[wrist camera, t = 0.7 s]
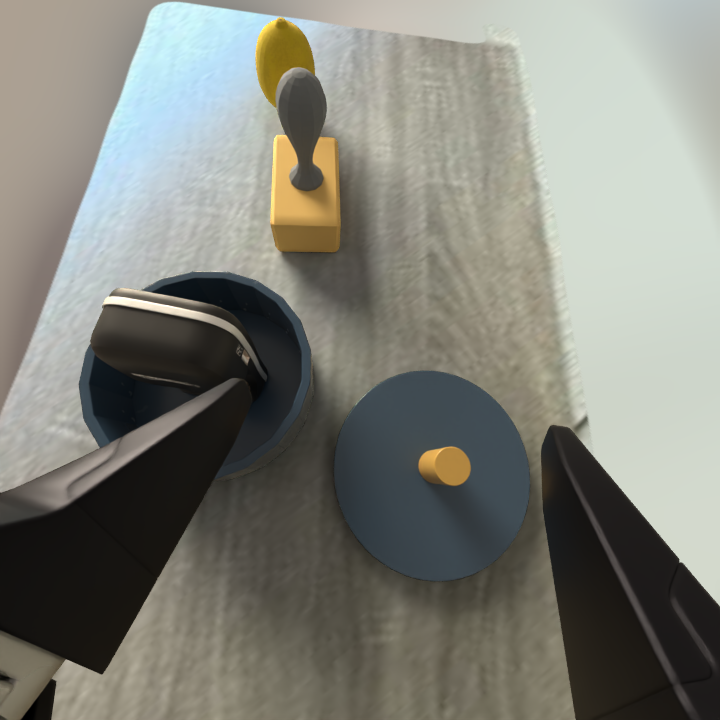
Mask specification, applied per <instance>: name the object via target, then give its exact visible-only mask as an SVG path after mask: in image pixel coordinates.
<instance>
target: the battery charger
mask: <svg viewBox="0 0 720 720" xmlns="http://www.w3.org/2000/svg"><path fill="white" fill-rule="evenodd" d="M102 308H103V311H102V313H101V315H100V317H99V319H98V322H97V324H96V326H95V328H94V330H93V333H92V337H91V340H90V342H91V348H92V350H93V351H94V353H95V355H96V356H97V357H98V358H99V359H101V360H102V361H104V362H105V363H107V364H108V365H110V366H111V367H113V368H115V369H116V370H118V371H120V372H122V373H123V374H125V375H127V376H129V377H131V378H133V379H135V380H137V381H141V382H144V383H149V384H155V385H160V386H166V387H174V388H179V389H180V390H181V391H183V392H185V393H188V394H193V395H198V396H199V395H201V394H203V393H205V392H207V391H209V390H211V389H212V388H214V387H216V386H218V385H220V384H222V383H224V382H226V381H228V380H229V379H231V378H238V379H243V380H245V381H246V383H247V385H248V388H249V391H250V393H251V396H252V402H254V401H256V400H257V398H258V397H259V396H260V394H261V392H262V390H263V387H264V384H265V382H266V380H267V368H266V367H265V366H264V364H263V362H262V361H261V359H260V357H259V355H258V352H257V350H256V348H255V346H254V343H253V341H252V340H251V338H250V336H249V334H248V333H247V331H246V330H245V328H244V327H243V325H242V324H241V322H240V321H239V320H238V319H237V318H236V317H235V316H234V315H233V314H231V313H230V312H228V311H226V310H224V309H222V308H220V307H217V306H214V305H211V304H207V303H203V302H198V301H193V300H188V299H183V298H178V297H174V296H169V295H163V294H158V293H152V292H147V291H141V290H136V289H128V288H119V289H115V290H114V291H113V292H111V294H110V295H109V297H107V298H106V299H105V301H104V303H103V305H102Z"/></svg>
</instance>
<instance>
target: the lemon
mask: <svg viewBox="0 0 720 720" xmlns="http://www.w3.org/2000/svg"><path fill="white" fill-rule="evenodd" d="M298 67H300V68H304V69H307V70H308V71H310V72H311V73H312V74H314V75H315V67H314V60H313V55H312V51H311V48H310V45H309V43H308V40H307V38H306V37H305V35H304V34H303V32H302V31H301V30H300V29H299V28H298V27H297V26H296V25H294V24H293V23H291V22H289V21H287V20H285V19H284V18H282V17H279V18H277V20H274V21H272V22H270V23H268V24H267V25H266V26H265V27H264V28H263V30H262V31H261V33H260V35H259V37H258V41H257V46H256V70H257V75H258V80H259V84H260V86H261V89H262V91H263V93H264V95H265V96H266V98H267V99H268V101H269V102H270V103H271V104H272V105H273V106H274V107H276V101H275V99H276V90H277V86H278V84H279V82H280V79H281V78H282V76H283V74H284V73H286V72H287V71H289V70H290V69H292V68H298Z"/></svg>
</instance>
